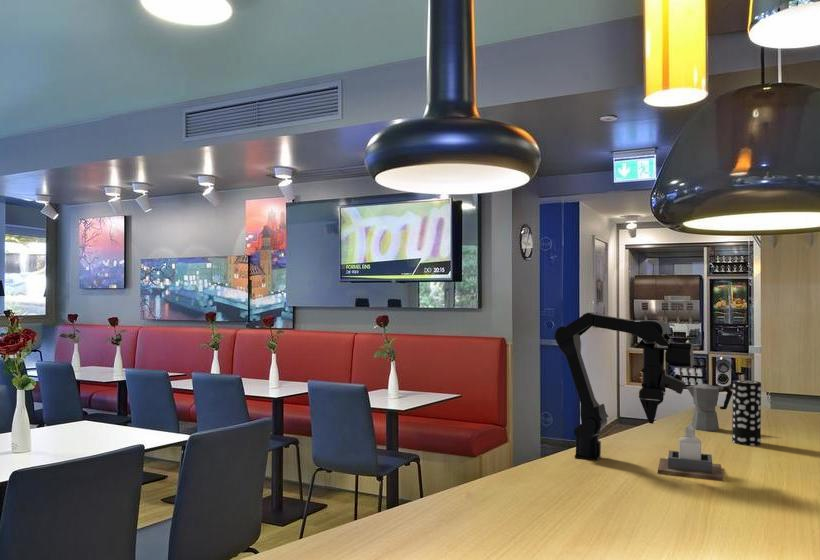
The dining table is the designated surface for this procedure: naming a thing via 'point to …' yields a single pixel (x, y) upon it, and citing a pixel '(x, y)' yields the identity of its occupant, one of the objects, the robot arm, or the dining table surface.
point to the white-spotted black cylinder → (746, 412)
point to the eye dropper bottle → (690, 445)
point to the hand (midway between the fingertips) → (652, 420)
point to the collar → (690, 463)
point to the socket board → (714, 475)
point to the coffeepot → (707, 405)
